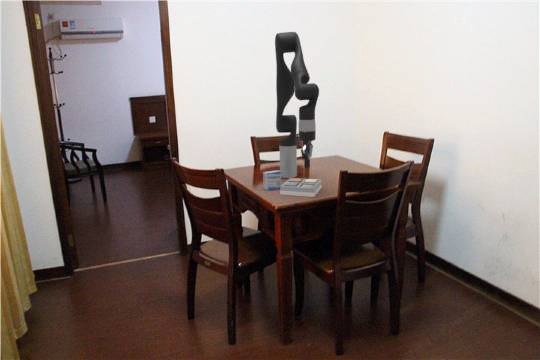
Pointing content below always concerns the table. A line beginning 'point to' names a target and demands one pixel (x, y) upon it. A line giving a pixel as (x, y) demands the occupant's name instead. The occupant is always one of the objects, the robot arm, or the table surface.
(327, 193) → the table surface
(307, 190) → the keypad
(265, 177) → the medicine box
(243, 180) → the table surface
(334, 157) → the table surface
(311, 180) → the cream key
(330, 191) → the table surface
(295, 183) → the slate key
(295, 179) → the terracotta key
